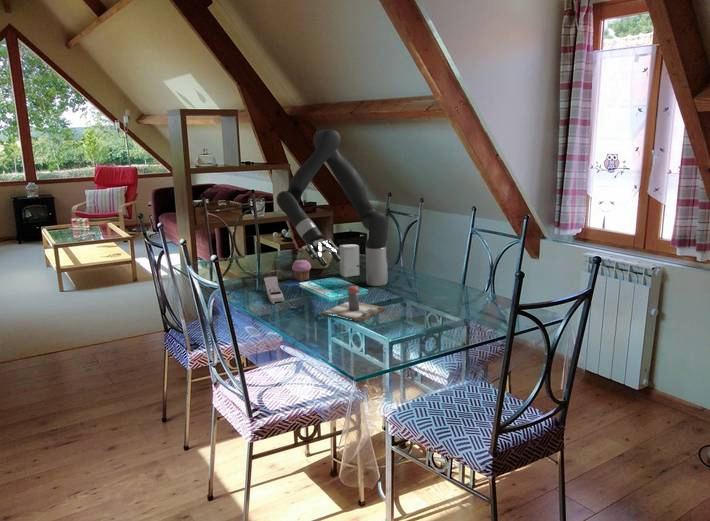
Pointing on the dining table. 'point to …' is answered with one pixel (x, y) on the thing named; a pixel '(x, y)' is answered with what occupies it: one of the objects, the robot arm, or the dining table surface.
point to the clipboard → (359, 315)
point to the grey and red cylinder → (353, 298)
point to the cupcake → (301, 269)
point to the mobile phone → (273, 289)
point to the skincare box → (349, 260)
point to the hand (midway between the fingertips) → (332, 263)
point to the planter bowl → (315, 263)
